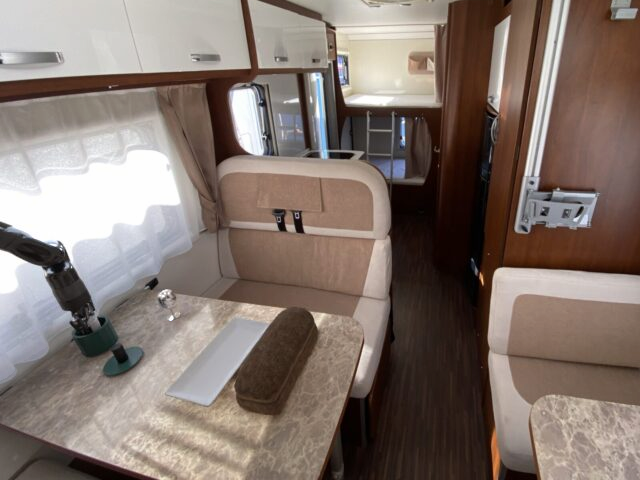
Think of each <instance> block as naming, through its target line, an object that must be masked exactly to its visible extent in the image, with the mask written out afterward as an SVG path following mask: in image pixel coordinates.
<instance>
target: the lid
mask: <svg viewBox="0 0 640 480" xmlns="http://www.w3.org/2000/svg"><path fill="white" fill-rule="evenodd" d="M110 351H111V354H112V356H111V357H110V358H108V360H107V361H106V362H105V364H103V368H102V373H103V374H104V375H105V376H108V377H113V376H118V375H120V374H123V373H125V372H128V371H129V370H130V369H132V368H133V367H134V366H135V365H137V364H138V363H139V362H140V360H141V359H142V357H143V355H144V350H143V348H142V347H140V346H129V347H127V348H125V347H124V346H123V344H122V342H116V344H115V345H113V346H112V347H111V348H110Z"/></svg>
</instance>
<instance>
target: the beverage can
mask: <svg viewBox="0 0 640 480" xmlns="http://www.w3.org/2000/svg"><path fill="white" fill-rule="evenodd" d="M97 317H98V316H96V315H91V316H89V318H90V319H89V320H88V321H89V324H90V326H91V328H92V330H93V331H96V330H98V329H99V328H100V327H102V326H101V325H100V323H99V321H98V319H97ZM83 319H86V317H85V318H83ZM83 319H82V320H83ZM84 323H85V322H84ZM85 324H86V323H85ZM82 332H83V331H82ZM83 334H84V333H83ZM84 336H85V335H84Z"/></svg>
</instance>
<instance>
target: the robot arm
mask: <svg viewBox="0 0 640 480" xmlns="http://www.w3.org/2000/svg"><path fill="white" fill-rule="evenodd" d="M0 251H2V252H5V253H9V254H11V255H12V256H15V257H16V258H18V259H20V260H22V261H24V262H26V263H28V264H31V265H34V266H38V267H41V269H42V270H43V274H44V279H45V281H46V283H47V284H48V286H49V288H50V289H51V292H52V295H53V296H54V299H55V300H56V302H57V304H58V305H59V306H60V309H61V311H64V312H70V315H71V317H72V319H71V320H70V321H69V325H70V326H71V327H72V328H73V330H74V329H75V330H76V331H77V332H80V331H83V333H84V335H87V334H90V333H92V332H94V331H93V330H92V328H91V326H90V324H89V321H88V320H89V319H90V318H89V316H91V315H94V316H96V313H95V311H96V306H95V304H94V301H93V299H92V295H91V294H90V292H89V289H88V288H87V285H86V284H85V283H84V281H83V279H82V278H81V277H80V275H79V274H78V271H77V269H76V268H75V267H74V265H73V263H72V261H71V258H70V256H69V253H68V251H67V249H66V246H65V245H64V243H63V242H62V241H60V240H58V239H55V238H44V239H42V240H40V239H38V238H36V237H34V236H33V235H32V234H31V233H30V232H29V231H27V230H25V229H23V228H20V227H17V226H14V225H13V224H9V223H7V222H4V221H1V220H0ZM85 317H86V319H83V318H85ZM82 319H83V320H82ZM84 322H85V323H86V324H85V323H84Z"/></svg>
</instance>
